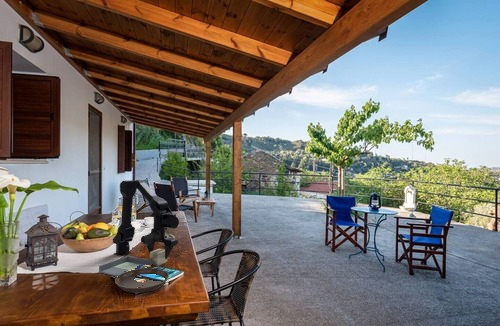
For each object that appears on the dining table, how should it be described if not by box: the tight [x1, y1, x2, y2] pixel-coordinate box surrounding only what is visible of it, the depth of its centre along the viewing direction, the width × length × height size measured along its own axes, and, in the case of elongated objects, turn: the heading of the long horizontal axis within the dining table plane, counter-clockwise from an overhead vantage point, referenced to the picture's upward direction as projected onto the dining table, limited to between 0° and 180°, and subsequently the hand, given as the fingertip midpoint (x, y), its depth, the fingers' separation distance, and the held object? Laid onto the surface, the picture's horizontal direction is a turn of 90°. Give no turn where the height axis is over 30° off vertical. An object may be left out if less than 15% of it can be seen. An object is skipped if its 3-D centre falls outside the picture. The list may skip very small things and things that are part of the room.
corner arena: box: [98, 255, 153, 277], centre depth 141 cm, size 15×17×3 cm
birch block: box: [149, 248, 168, 267], centre depth 151 cm, size 5×7×6 cm
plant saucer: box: [114, 267, 170, 294], centre depth 125 cm, size 21×21×3 cm
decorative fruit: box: [158, 231, 176, 248], centre depth 175 cm, size 9×8×10 cm
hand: (158, 257), depth 151 cm, fingers open, 9 cm apart
